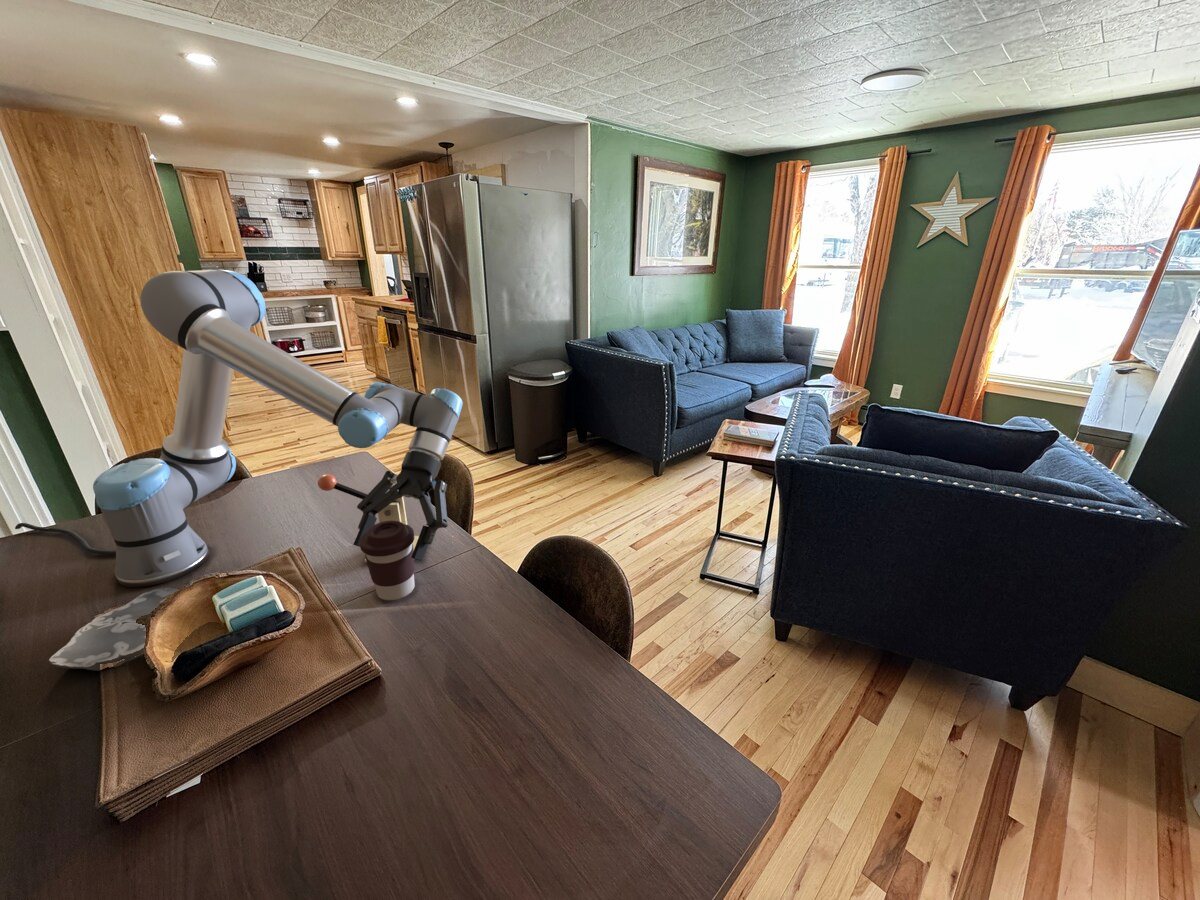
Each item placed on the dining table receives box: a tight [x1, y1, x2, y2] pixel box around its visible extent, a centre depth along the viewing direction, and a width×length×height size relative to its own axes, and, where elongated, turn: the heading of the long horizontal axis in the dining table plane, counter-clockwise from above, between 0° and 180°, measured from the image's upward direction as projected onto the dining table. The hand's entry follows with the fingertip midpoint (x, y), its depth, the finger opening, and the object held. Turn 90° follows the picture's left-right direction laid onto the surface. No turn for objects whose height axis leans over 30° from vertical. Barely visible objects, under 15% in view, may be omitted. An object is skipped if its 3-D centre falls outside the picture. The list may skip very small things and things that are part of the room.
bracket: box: [364, 496, 419, 563], centre depth 109 cm, size 12×9×14 cm
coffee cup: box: [359, 521, 416, 601], centre depth 96 cm, size 10×10×15 cm
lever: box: [317, 473, 400, 505], centre depth 105 cm, size 17×4×4 cm, turn 98°
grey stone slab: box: [48, 587, 181, 672], centre depth 85 cm, size 20×17×3 cm
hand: (387, 553), depth 94 cm, fingers open, 13 cm apart
